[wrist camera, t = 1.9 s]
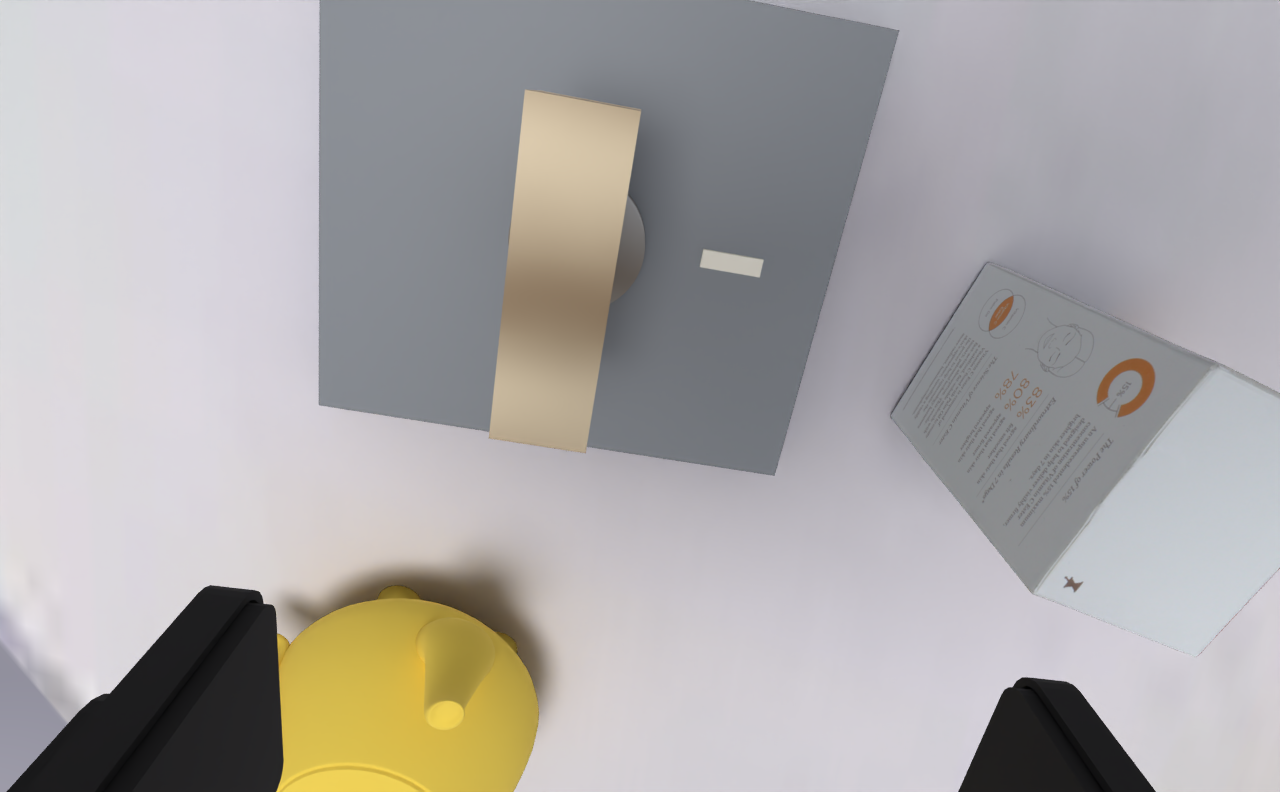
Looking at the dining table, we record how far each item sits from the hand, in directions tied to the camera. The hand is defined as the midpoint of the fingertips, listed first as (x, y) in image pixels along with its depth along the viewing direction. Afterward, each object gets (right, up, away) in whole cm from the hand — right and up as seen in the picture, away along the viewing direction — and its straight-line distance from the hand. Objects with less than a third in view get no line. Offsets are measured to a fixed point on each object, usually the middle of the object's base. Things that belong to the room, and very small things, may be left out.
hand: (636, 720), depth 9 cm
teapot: (-12, -10, +29) cm, 33 cm away
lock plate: (-2, +11, +21) cm, 23 cm away
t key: (-2, +10, +19) cm, 22 cm away
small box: (+16, +6, +23) cm, 29 cm away
